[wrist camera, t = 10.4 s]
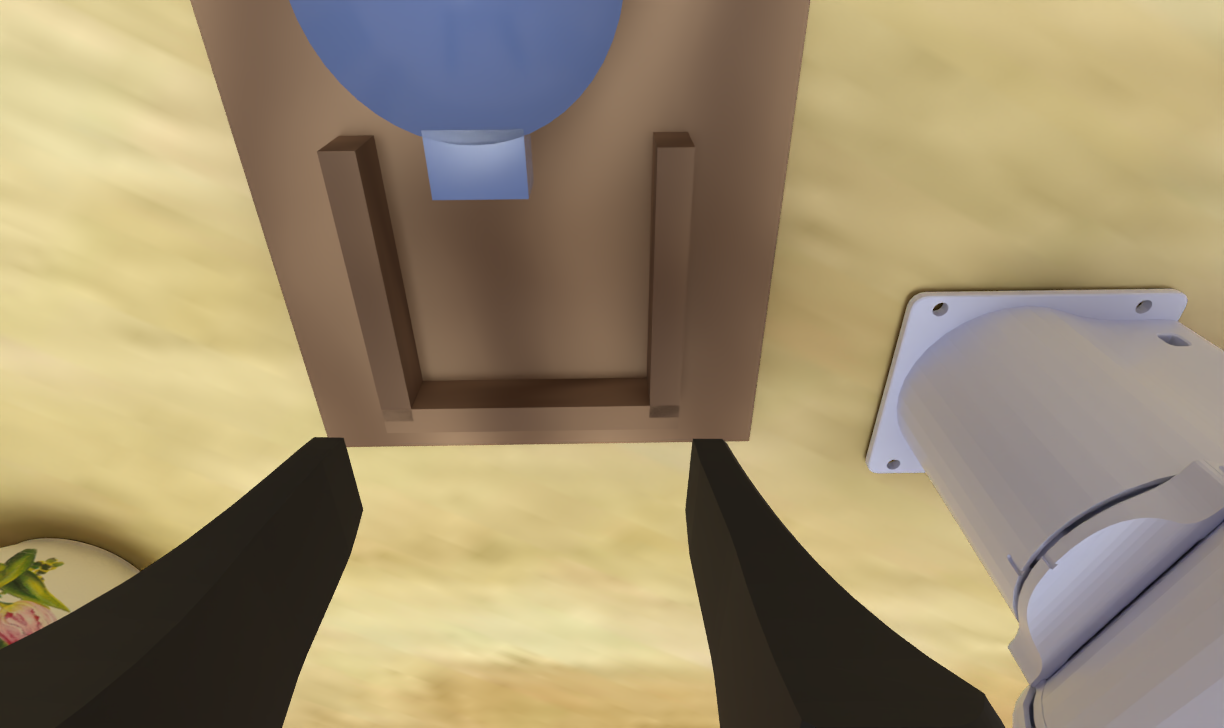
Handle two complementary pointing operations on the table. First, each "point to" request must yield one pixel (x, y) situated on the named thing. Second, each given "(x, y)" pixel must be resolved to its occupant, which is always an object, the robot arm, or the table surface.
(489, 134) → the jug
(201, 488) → the table surface
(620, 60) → the stand
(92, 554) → the pitcher
